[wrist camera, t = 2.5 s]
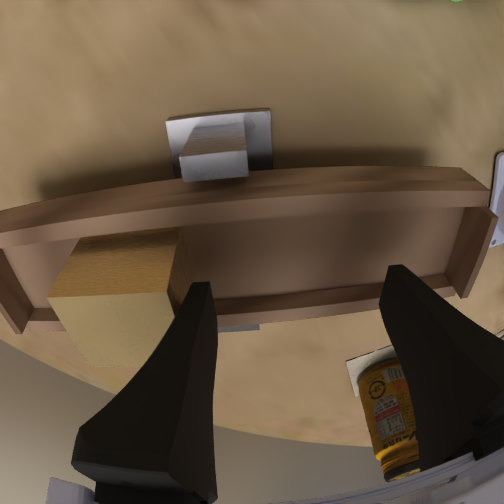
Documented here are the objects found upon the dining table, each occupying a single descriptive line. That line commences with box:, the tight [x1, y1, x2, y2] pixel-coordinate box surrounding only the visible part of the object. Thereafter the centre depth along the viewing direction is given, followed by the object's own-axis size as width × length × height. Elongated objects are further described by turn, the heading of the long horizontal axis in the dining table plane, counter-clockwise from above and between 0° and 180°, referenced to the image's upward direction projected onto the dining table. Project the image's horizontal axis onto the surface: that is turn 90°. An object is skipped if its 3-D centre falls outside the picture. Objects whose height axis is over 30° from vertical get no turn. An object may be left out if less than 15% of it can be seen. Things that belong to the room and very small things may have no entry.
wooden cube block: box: [47, 226, 195, 367], centre depth 12 cm, size 4×4×4 cm
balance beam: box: [0, 166, 499, 334], centre depth 14 cm, size 24×7×4 cm, turn 93°
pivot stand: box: [166, 108, 273, 333], centre depth 16 cm, size 5×10×5 cm, turn 3°
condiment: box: [346, 345, 420, 482], centre depth 25 cm, size 7×8×12 cm
